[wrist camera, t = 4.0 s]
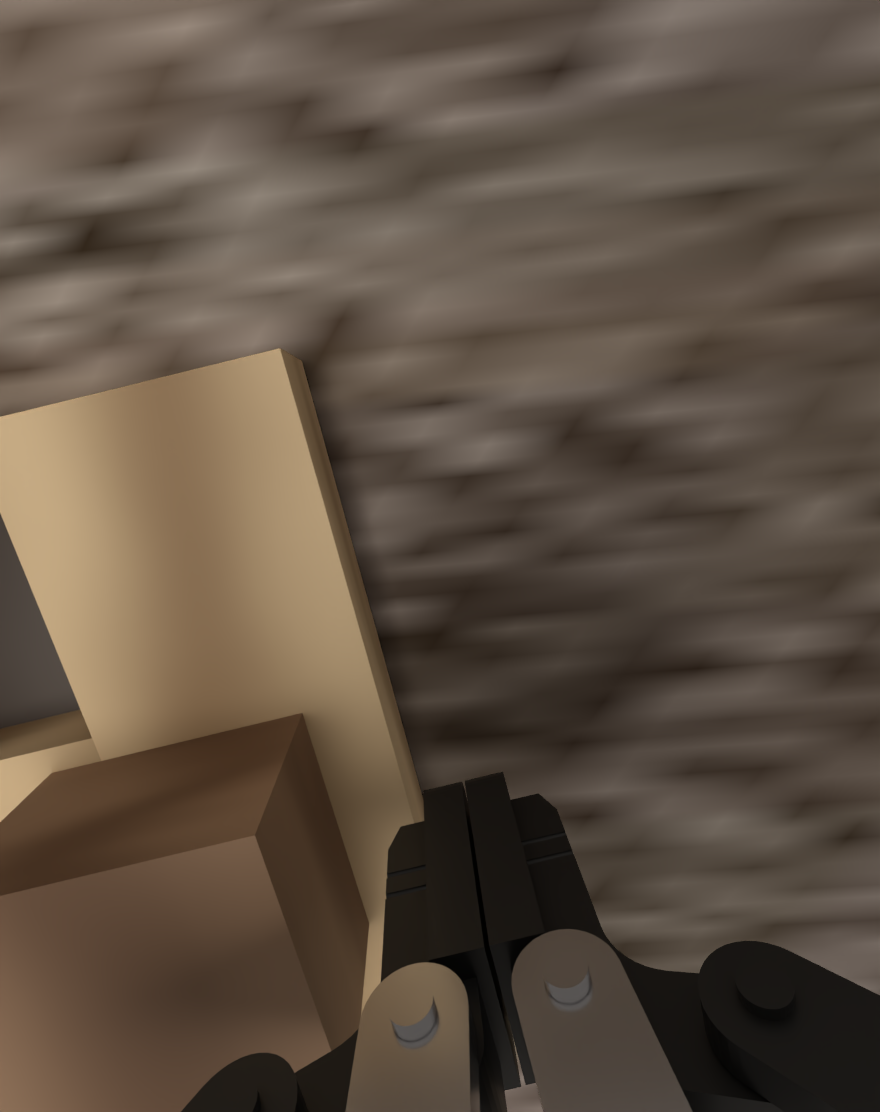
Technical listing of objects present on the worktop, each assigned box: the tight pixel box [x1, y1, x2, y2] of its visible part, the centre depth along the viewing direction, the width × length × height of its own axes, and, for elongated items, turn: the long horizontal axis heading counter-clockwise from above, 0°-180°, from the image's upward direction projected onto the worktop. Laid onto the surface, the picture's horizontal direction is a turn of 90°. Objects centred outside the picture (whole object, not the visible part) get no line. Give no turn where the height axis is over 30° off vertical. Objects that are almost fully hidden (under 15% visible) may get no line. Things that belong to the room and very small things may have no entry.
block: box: [0, 713, 369, 1112], centre depth 10 cm, size 5×5×4 cm
